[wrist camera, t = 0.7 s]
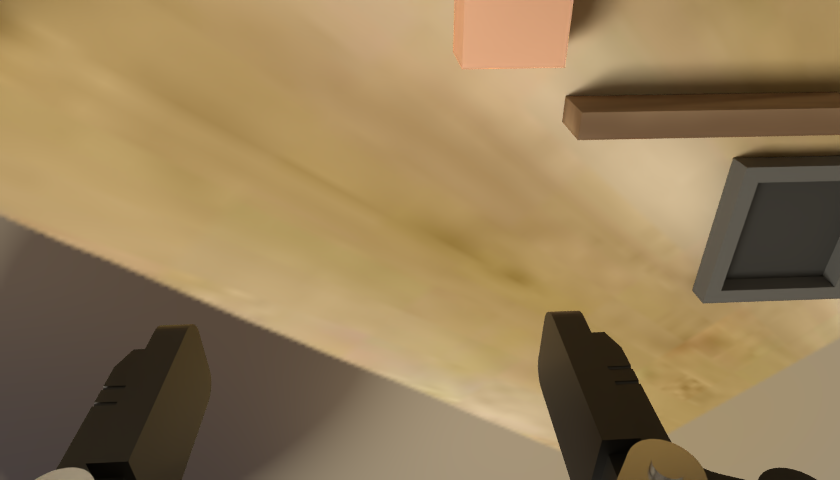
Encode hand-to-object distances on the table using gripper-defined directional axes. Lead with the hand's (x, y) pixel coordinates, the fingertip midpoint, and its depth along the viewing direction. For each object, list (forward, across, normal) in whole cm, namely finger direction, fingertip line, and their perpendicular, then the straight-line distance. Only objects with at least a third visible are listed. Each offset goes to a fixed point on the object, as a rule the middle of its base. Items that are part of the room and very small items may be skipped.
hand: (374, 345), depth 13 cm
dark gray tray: (+20, -26, +10) cm, 35 cm away
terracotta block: (+21, -6, -4) cm, 22 cm away
